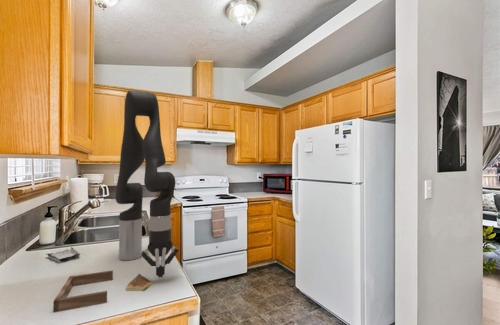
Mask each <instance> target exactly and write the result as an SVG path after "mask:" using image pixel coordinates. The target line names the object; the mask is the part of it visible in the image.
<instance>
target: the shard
mask: <svg viewBox="0 0 500 325" xmlns="http://www.w3.org/2000/svg"><path fill="white" fill-rule="evenodd" d="M151 286H153V282H152V281H151V280H149V279H148V278H147V277H145V276H144V275H142V274H141V273H138V274H137V275H136V277H135V278H133V279H132V280H131V281H130V282H129V283H128V284H127V286H125V291H126V292H139V291H140V292H143V291H144V290H145V289H148V287H151Z"/></svg>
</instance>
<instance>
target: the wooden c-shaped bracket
mask: <svg viewBox="0 0 500 325" xmlns="http://www.w3.org/2000/svg"><path fill="white" fill-rule="evenodd" d="M113 272H114V270H112V269H111V270H106V271H100V272H99V271H98V272H93V273H92V272H91V273H85V274H79V275H78V274H77V275H70V276H68V278H67V280H66V281H65V283H64V285H63V286H62V287H61V289H60V291H59V293H58V294H57V295H56V297H55V298H54V300H53V302H52V303H53V306H52V308H53V310H52V312H53V313H55V312H56V313H57V312H63V311H67V310H73V309H78V308H83V307H89V306H95V305H101V304H105V303H107V302H108V290H104V291H103V290H102V291H97V292H91V293H85V294H80V295H74V296H69V294H70V292H71V290H72V289H73V287H75V286H83V285H88V284H96V283H102V282H108V281H113V280H114V278H113V277H114V276H113V274H114V273H113Z"/></svg>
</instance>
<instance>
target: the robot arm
mask: <svg viewBox="0 0 500 325" xmlns="http://www.w3.org/2000/svg"><path fill="white" fill-rule="evenodd" d="M124 99H125V100H124V116H123V118H124V121H123V133H122V139H121V140H122V141H121V142H122V143H121V148H120V156H119V171H118V176H117V183H116V187H115V196H114V197H115V202H116V203H117V204H119V205H129V204H131V205H132V206H131V207H129V208H128V209H125V210H124V211H121V212H120V213H119V216H118V218H119V220H118V226H119V230H118V235H119V236H118V238H119V239H118V259H119V260H120V261H133V260H136V259H139V258H141V257H142V258H143V259H144V260H145V261H146V262H147V263H148V265H150V267H155V276H156V277H158V278H163V276H165V274H166V273H165V270H166V269H165V268H166V265H170V264H171V262H172V261H173V260H174V258H175V257H176V255H177V253H178V252H179V248H178V246H175V245H173V242H172V226H173V225H172V218H171V217H172V215H171V210H172V209H171V206H172V205H171V204H172V200H173V195H174V192H175V188H176V178H175V176H174V174H173V173H172V172H170V171H158V168H161V167H163V166H164V165H165V164H166V162H167V161H166V155H165V151H164V146H163V142H162V135H161V133H162V132H161V118H160V107H159V102H158V100H159V99H158V98H157V95H156V94H155V93H153V92H149V91H140V90H131V89H130V90H128V91H127V92H126V94H125V98H124ZM137 117H148V119H149V126H148V128H147V131H146V134H145V136H144V137H142V135H141V133H140V131H139V130H138V127H137V121H136V119H137ZM144 161H145V164H144ZM143 164H144V165H145V166H144V179H143V180H144V182H143V183H144V187H145V189H146V190H147V191H148V192H150V193H159V192H160V193H159V195H158V196H157V197H155V198H153V199H151V200H150V203H149V221H148V244H147V248H146V249H145V250H143V249H142V248H143V247H142V246H143V245H142V244H143V242H142V241H143V240H142V239H143V238H142V237H143V232H142V231H143V230H142V229H143V228H142V227H143V221H142V220H143V217H142V216H143V215H142V214H143V197H144V189H143V185H142V184H141V182H129V179H130V178H131V176H133V175H134V174H135V173H136V172H137V170H138V169H139V168H140V167H141V166H142V165H143ZM170 252H171V253H170ZM169 253H170V254H169ZM150 254H151V255H152V256H153V257H154V258H155V261H154V260H153V258H151V256H150ZM168 254H169V255H168ZM167 255H168V256H167ZM166 256H167V257H166Z"/></svg>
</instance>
